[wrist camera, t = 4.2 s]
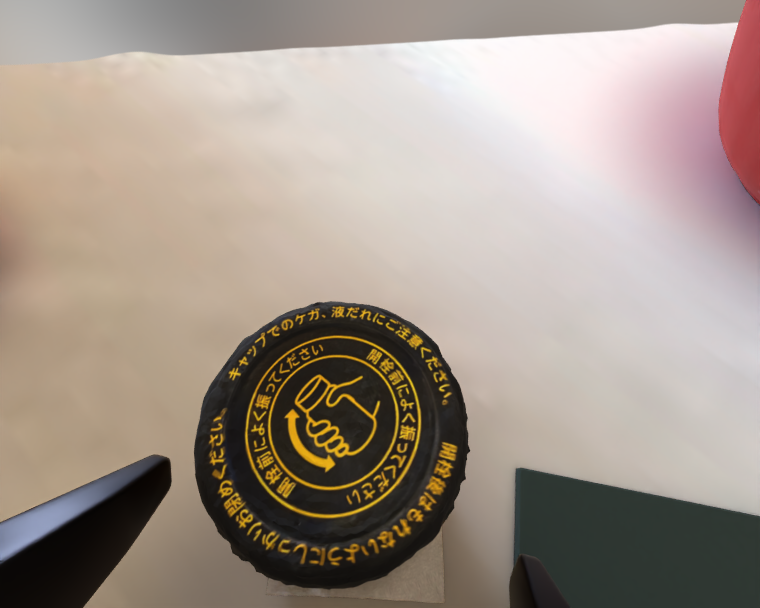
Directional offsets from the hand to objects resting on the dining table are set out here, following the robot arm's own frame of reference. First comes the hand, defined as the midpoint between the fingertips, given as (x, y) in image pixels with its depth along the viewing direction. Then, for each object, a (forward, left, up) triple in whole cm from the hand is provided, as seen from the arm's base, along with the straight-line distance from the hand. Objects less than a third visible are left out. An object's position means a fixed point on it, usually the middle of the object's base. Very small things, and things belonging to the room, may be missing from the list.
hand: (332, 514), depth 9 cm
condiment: (+1, 0, -9) cm, 9 cm away
